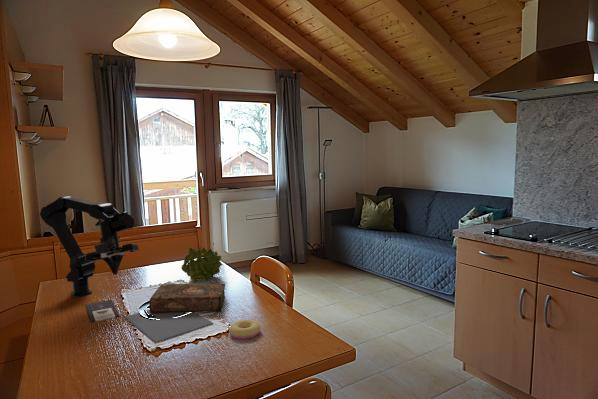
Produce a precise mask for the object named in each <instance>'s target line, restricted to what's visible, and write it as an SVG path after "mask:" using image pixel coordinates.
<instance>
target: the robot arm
mask: <svg viewBox="0 0 598 399" xmlns="http://www.w3.org/2000/svg"><path fill="white" fill-rule="evenodd" d="M69 209H70V210H75V211H79V212H82V213H86V214H88V215H89V217H91V218H93V219H95V220H98V221H97V222H96V223H95V226H96V227H100V228H99V229H100V234H101V237H100V238H99V242H98V243H96V244H95V245H94V246H93V247H94V249H95V251H93V252H92V251H91V252H88V253H86V254H85V253H84V252H83V251H82V249H81V248H80V246H79V244H78V242H77V240H76V238H75V236H74V234H73V233H72V231H71V229H70V227H69V226H68V224H67V214H66V213H67V212H68V211H69ZM39 216H40V218H41V219H42V221H43V222H44V223H45V224H46V225H47V226H49V227H51V228H52V229H53V230H54V233H55V234H56V236H57V238H58V239H59V242H60V243H61V245H62V247H63V249H64V250H65V252H66V254H67V255H68V258H69V269H70V271H69V272H68V273H67V275H66V276H65V277H66V280H67V282H69V283H70V282H71V283H72V290H73V291H72V290H71V292H70V294H71V295H72V296H73V297H75V298H76V297H80V296H81V297H82V296H85V295H91V294H93V291H91V289H90V285H89V283H90V282H89V278H91V277H93V276H94V273H95V269H96V264H95V263H96V261H104V262H105V263H106V264H107V266H108V267H109V269H110V271H111V273H112V274H113V275H115V276H116V275H117V274H118V272H119V269H120V265H121V263H122V260H123V258H124V257H126V254H125V252H126V253H127V252H130V253H134V252H135V253H136V252H139V251H140V250H139V245H138V244H137V243H127V244H123V245H122V246H120V242H119V241H120V239H121V238H120V236H119V235H118V233H120V232H124V231H127V230H130V229H133V228H134V227H135V218H133V216H132V215H130V214H129V211H124V212H119V211H118V210H117V209H116V208H115V207H114V206H113V204H112V203H110V202H92V201H89V200H83V199H79V198H77V197H73V196H69V195H65V196H60V197H58V198H57V199H55V200H54V201H52V202H51V203H49V204H47V205H46V206H43V207H42V208H41V209H40V213H39Z"/></svg>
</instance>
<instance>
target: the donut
mask: <svg viewBox="0 0 598 399" xmlns="http://www.w3.org/2000/svg"><path fill="white" fill-rule="evenodd" d="M261 329H262V328H261V324H260V323H259V322H258V321H257V320H256V321H255V320H253V319H242V320H238V321H235V322H233V323H232V324H231V325H230V326H229V329H228V332H229V334H230V336H231V337H232V338H235V339H237V340H238V339H239V340H246V339H251V338H254V337H257V335H258V334H259V333H260V331H261Z"/></svg>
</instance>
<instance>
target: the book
mask: <svg viewBox="0 0 598 399" xmlns="http://www.w3.org/2000/svg"><path fill="white" fill-rule="evenodd" d="M225 286H226V284H225V283H170V284H169V283H167V284H160V285H159V286H158V288H157V289H156V290H155V291H154V293H153V294H152V296H151V297H150V298H149V309H148V310H150V313H166V312H195V313H215V312H216V313H217V312H221V313H222V311H223V307H224V303H225V300H226V296H225V294H226V293H225V289H226V288H225Z"/></svg>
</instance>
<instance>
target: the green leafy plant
mask: <svg viewBox="0 0 598 399" xmlns="http://www.w3.org/2000/svg"><path fill="white" fill-rule="evenodd" d="M221 260H222V256H221V255H219V254H218V251H216V250H215V252H214V251H213V250H212V248H208V249H206V248H205V247H203V248H201V247H198V248H197V249H196V250H195V248H194V249H193V248H192V247H189V249H188V251H187V255H185V256H184V258H183V264H182V265H181V267H180V269H181V270H182V271H183V272H184V274H186V276H188V277H189V279H190V280H191V282H192V283H197V282H198V281H199V282H200V281H202V282H204V281H206V280H212V279H214V276H215V275H218V274H219V273H220V272H221V270H220V268H221V266H223V264H222V262H221Z"/></svg>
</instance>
